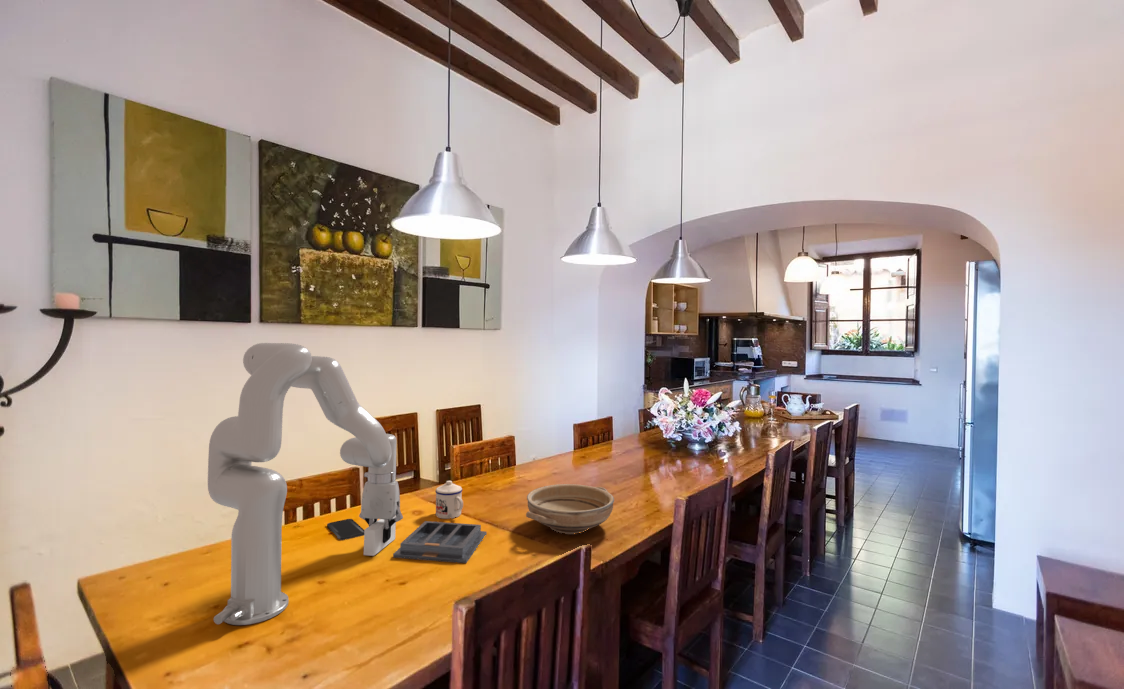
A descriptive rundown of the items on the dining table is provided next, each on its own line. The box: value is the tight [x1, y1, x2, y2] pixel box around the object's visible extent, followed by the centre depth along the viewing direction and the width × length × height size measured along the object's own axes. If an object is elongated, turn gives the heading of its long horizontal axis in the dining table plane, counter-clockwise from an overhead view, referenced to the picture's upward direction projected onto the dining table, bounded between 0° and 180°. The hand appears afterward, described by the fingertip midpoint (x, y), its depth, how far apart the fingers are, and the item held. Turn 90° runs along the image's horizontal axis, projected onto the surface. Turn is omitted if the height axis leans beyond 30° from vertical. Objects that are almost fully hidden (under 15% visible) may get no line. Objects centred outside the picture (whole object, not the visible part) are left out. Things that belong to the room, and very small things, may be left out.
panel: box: [363, 515, 397, 557], centre depth 145 cm, size 13×3×7 cm, turn 173°
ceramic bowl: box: [525, 483, 615, 535], centre depth 164 cm, size 37×29×10 cm
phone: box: [326, 518, 365, 541], centre depth 158 cm, size 8×1×15 cm
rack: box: [392, 520, 487, 564], centre depth 147 cm, size 20×21×4 cm
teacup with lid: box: [435, 480, 464, 520], centre depth 172 cm, size 12×9×12 cm
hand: (380, 540), depth 145 cm, fingers closed on panel, 2 cm apart
